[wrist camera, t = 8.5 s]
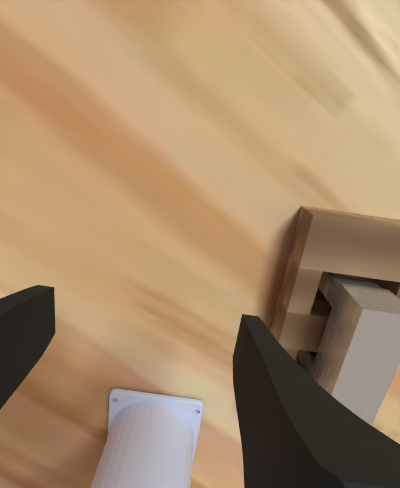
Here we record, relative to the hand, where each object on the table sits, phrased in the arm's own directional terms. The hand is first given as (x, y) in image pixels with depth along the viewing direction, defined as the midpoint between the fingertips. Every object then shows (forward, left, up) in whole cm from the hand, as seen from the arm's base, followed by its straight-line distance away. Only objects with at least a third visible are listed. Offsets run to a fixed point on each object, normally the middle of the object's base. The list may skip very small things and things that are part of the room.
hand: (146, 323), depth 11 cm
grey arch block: (-4, -12, -10) cm, 16 cm away
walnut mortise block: (-5, -12, -10) cm, 16 cm away
